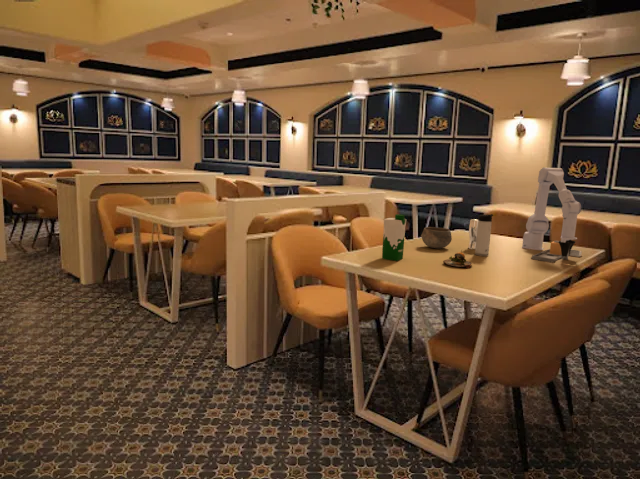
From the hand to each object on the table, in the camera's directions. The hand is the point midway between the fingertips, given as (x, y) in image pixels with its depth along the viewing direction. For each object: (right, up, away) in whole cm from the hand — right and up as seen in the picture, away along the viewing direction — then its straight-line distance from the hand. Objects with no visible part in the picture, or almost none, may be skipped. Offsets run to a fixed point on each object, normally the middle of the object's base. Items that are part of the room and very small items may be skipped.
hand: (565, 255), depth 236 cm
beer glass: (-36, +3, +22) cm, 43 cm away
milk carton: (-84, -1, -13) cm, 85 cm away
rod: (0, -2, 0) cm, 2 cm away
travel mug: (-38, 0, +5) cm, 38 cm away
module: (+1, 0, +12) cm, 12 cm away
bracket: (+10, -1, +11) cm, 15 cm away
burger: (-57, -4, -22) cm, 61 cm away
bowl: (-57, +3, +20) cm, 60 cm away
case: (+1, 0, +12) cm, 12 cm away
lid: (-8, -2, +1) cm, 9 cm away
